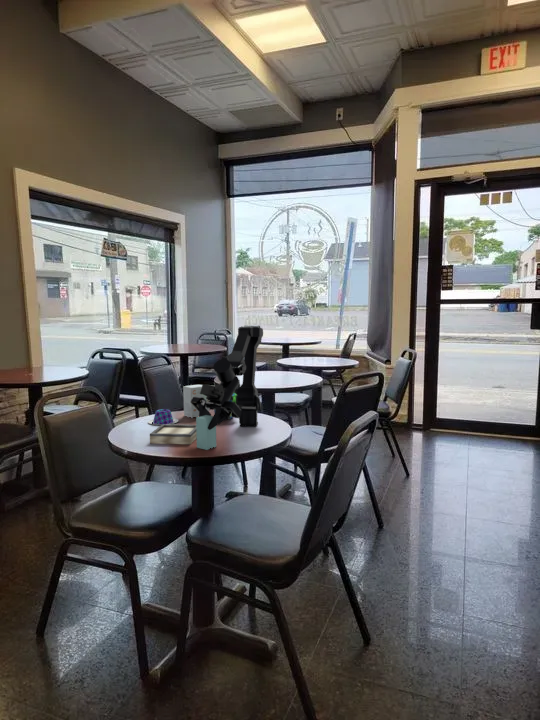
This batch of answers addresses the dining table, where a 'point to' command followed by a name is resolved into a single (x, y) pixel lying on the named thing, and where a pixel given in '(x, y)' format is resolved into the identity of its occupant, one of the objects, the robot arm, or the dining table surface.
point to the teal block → (205, 433)
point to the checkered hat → (163, 417)
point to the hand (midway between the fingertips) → (203, 428)
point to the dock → (173, 434)
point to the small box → (189, 394)
